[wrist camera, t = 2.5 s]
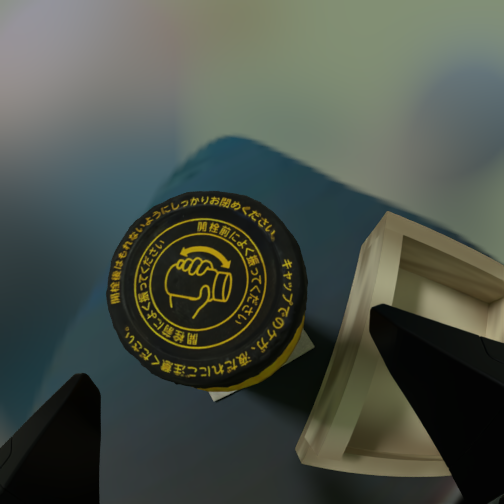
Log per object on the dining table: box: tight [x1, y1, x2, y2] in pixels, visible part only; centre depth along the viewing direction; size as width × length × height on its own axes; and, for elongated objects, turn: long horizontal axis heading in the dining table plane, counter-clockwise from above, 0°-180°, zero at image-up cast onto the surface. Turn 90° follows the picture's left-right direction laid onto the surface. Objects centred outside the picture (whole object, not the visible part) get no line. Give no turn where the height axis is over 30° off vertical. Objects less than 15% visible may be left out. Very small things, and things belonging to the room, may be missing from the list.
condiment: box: [106, 191, 314, 401], centre depth 12 cm, size 7×8×12 cm
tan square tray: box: [295, 211, 504, 477], centre depth 13 cm, size 15×14×5 cm
